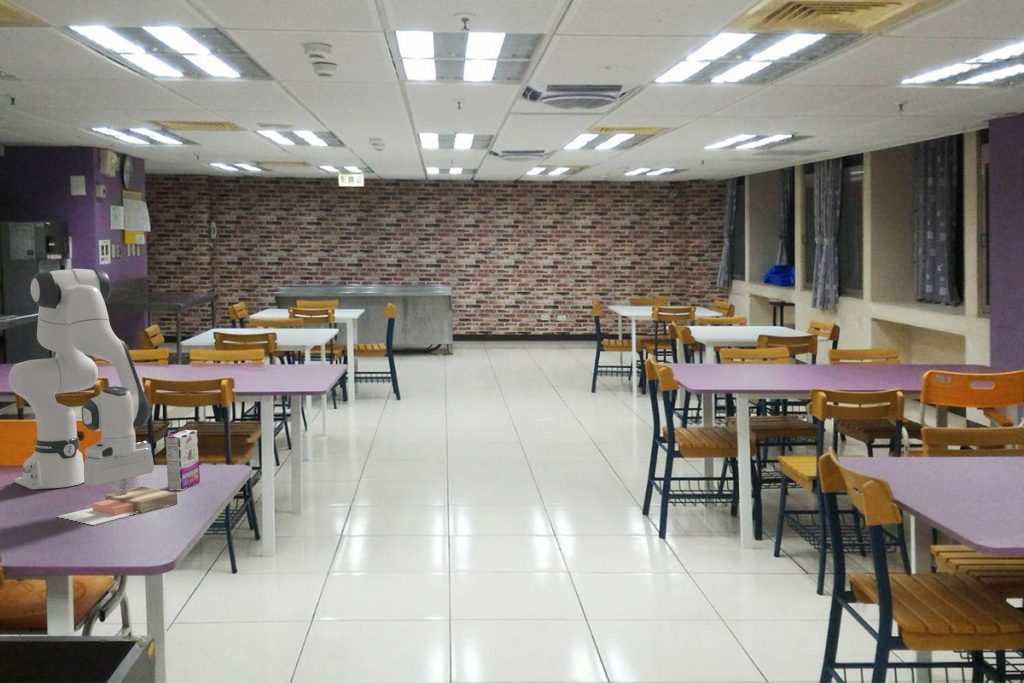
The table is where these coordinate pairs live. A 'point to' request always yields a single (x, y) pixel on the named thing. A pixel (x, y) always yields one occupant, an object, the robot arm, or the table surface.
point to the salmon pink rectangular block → (113, 507)
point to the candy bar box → (182, 459)
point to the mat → (93, 516)
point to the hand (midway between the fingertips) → (121, 495)
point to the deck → (146, 498)
